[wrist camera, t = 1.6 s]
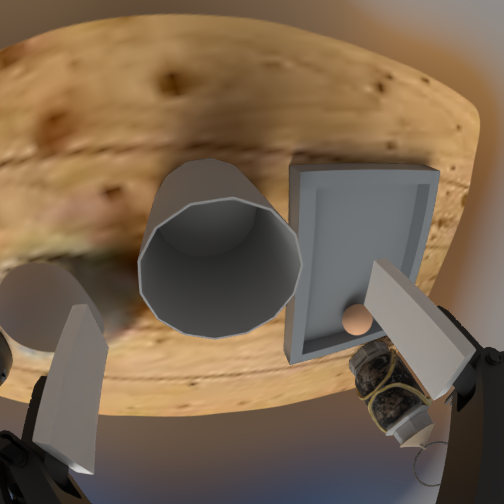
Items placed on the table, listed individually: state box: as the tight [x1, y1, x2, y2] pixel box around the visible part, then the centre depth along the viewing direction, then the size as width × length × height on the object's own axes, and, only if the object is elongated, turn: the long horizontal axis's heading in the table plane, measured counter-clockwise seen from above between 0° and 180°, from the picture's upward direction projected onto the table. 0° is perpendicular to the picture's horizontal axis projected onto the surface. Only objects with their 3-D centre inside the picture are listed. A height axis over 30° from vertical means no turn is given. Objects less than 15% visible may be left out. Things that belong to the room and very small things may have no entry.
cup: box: [138, 158, 303, 340], centre depth 18 cm, size 8×8×10 cm
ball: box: [342, 304, 373, 335], centre depth 30 cm, size 4×4×4 cm
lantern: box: [349, 341, 448, 487], centre depth 28 cm, size 9×8×25 cm
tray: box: [284, 163, 440, 365], centre depth 28 cm, size 16×22×2 cm
